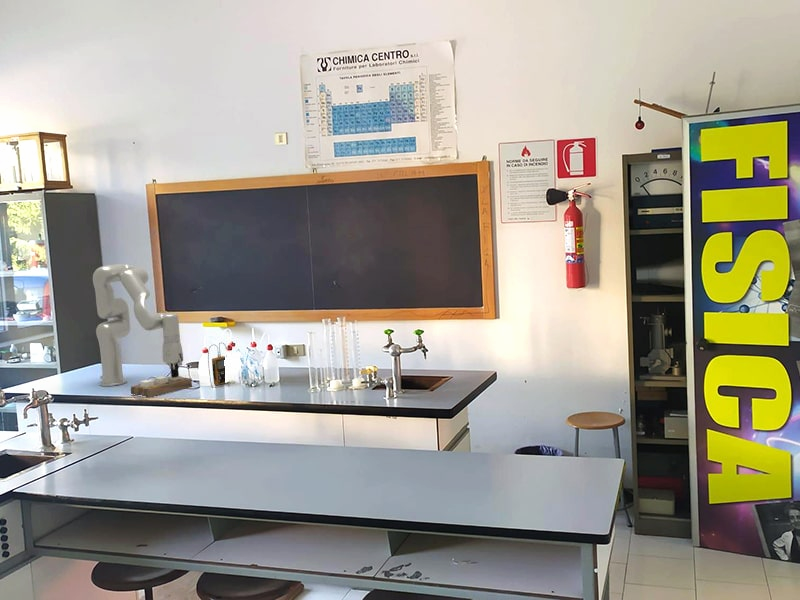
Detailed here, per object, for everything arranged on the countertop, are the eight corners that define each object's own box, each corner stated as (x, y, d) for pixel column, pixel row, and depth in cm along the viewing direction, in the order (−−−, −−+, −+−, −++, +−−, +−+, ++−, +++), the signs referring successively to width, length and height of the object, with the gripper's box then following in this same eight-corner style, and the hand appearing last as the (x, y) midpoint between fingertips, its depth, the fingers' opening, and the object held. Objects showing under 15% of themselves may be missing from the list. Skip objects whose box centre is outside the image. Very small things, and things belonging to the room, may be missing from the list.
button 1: (140, 391, 352) (139, 381, 352) (148, 389, 356) (147, 379, 355) (146, 392, 350) (145, 382, 349) (154, 390, 353) (153, 380, 353)
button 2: (169, 386, 366) (168, 377, 365) (176, 384, 369) (175, 375, 369) (175, 387, 363) (174, 378, 363) (182, 385, 367) (181, 376, 366)
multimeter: (221, 389, 357) (217, 347, 355) (207, 386, 363) (204, 345, 361) (245, 382, 369) (242, 342, 367) (231, 380, 375) (228, 340, 373)
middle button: (155, 387, 359) (154, 378, 358) (162, 385, 362) (161, 376, 362) (161, 388, 356) (160, 378, 356) (168, 386, 360) (167, 376, 359)
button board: (131, 394, 354) (130, 385, 353) (173, 384, 373) (172, 375, 373) (150, 397, 346) (149, 388, 345) (192, 386, 365) (191, 377, 365)
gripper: (155, 339, 365) (158, 377, 367) (175, 341, 356) (179, 379, 358) (168, 337, 371) (171, 374, 373) (188, 338, 362) (191, 376, 364)
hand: (175, 376), depth 366 cm, fingers closed
